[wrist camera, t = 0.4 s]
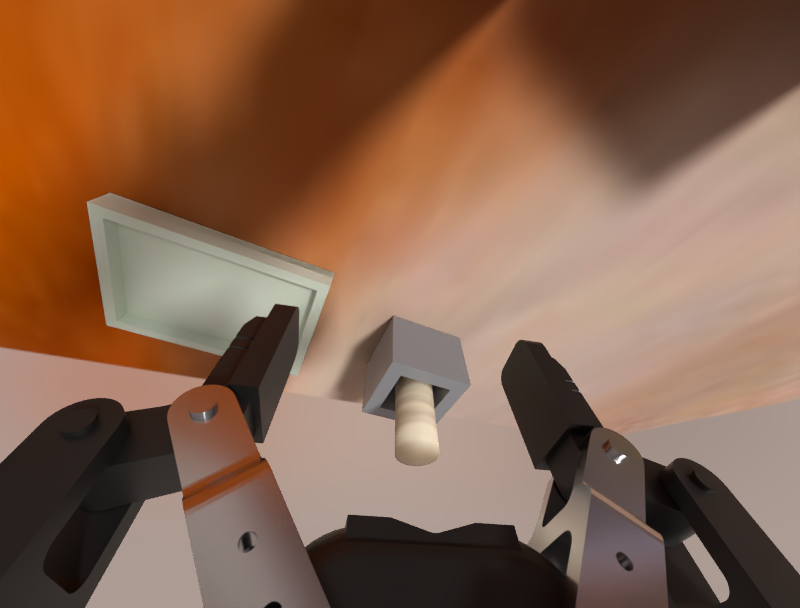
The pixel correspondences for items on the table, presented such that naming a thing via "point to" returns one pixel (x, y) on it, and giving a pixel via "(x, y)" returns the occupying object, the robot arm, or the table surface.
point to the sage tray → (194, 278)
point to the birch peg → (415, 423)
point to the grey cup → (414, 367)
